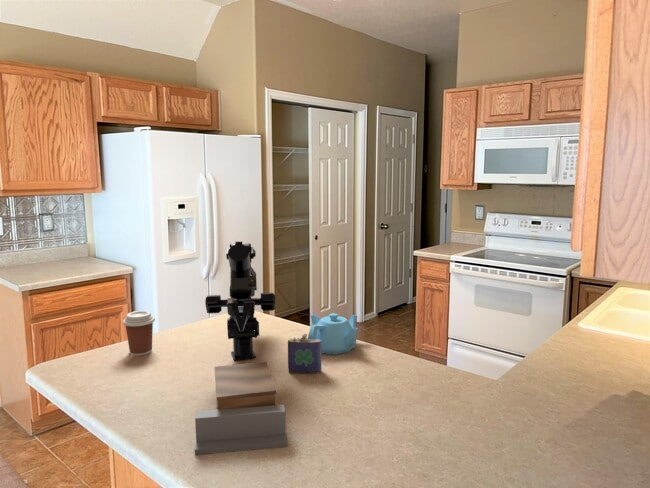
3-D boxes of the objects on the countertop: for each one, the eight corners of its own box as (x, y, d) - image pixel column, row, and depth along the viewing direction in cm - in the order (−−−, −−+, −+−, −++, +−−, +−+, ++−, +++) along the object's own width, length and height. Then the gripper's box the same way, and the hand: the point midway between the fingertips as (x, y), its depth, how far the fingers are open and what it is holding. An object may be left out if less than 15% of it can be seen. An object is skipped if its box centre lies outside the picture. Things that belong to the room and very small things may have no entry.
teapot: (311, 338, 164) (310, 306, 163) (357, 339, 164) (357, 307, 162) (307, 356, 149) (306, 321, 148) (357, 356, 149) (358, 321, 147)
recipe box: (216, 402, 121) (214, 366, 119) (267, 396, 123) (266, 361, 122) (218, 438, 105) (216, 397, 103) (277, 430, 108) (276, 390, 106)
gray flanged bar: (197, 438, 104) (196, 411, 103) (284, 431, 107) (284, 404, 106) (194, 454, 99) (193, 426, 98) (286, 446, 101) (286, 418, 100)
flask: (321, 369, 139) (321, 332, 137) (321, 374, 136) (320, 336, 135) (288, 369, 140) (287, 332, 138) (287, 373, 137) (286, 335, 135)
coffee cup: (120, 351, 154) (117, 313, 152) (149, 344, 160) (147, 307, 158) (132, 359, 147) (129, 320, 145) (161, 352, 153) (159, 314, 151)
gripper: (204, 266, 135) (202, 318, 126) (274, 264, 137) (277, 314, 128) (207, 288, 144) (206, 338, 135) (273, 285, 146) (276, 334, 137)
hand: (241, 330), depth 133 cm, fingers closed
